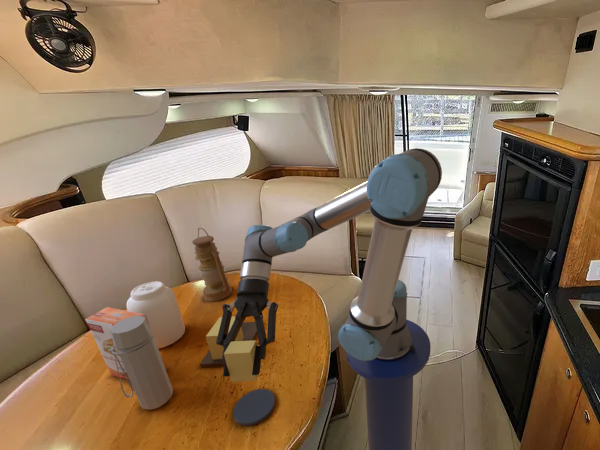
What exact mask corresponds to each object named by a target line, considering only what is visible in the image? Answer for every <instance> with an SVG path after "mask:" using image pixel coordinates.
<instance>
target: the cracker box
mask: <svg viewBox="0 0 600 450" xmlns="http://www.w3.org/2000/svg"><path fill="white" fill-rule="evenodd" d="M133 316H143V317H144V318H145V320H146V322H147V324H148V325H149V322H148V320H147V317H146V315H145V314H140V313H135V312H130V311H128V310H125V309H121V308H120V309H119V308H114V307H110V306H106V307H104V308H102V309H100V310H99V311H98V312H96V313H93V314H92V315H90V316H88V317H87V318H85V322H86V324H87V326H88V328H89V331H90V333H91V335H92V337H93V339H94V342H95V343H96V345H97V347H98V350H99V352H100V354H101V356H102V358H103V360H104V362H105V365H106V367H107V369H108V371H109V373H110V375H111V376H112V377H117V378H119V374H120V378H121V379H124V380H127V379H126V377H125V375H124V373H123V371H122V369H121V367H120V365H119V363H118V360H119V362H120V364H121V366H122V368H123V370H124V372H125V374H126V376H127V378H128V380H129V381H130V379H129V377H128V375H127V372H126V370H125V368H124V365H123V363H122V361H121V358H120V356H119V354H117V355H116V356H117V358H118V360H117V358H116V361H117V365H118V370H119V374H118V370H117V365H116V361H115V357H116V356H114V355H113V353H112V352H111V351H110V348H112V347H113V346H114V343H113V340H112V336H111V332H110V329H111V328H112V326H113V325H114V324H116V323H117V322H119V321H121V320H123V319H126V318H128V317H133ZM149 327H150V325H149ZM150 329H151V328H150ZM154 339H155V338H154ZM155 342H156V341H155ZM114 349H115V351H116V353H118V351H117V349H116V347H114ZM158 350H159V353H160V354H161V352H160V348H159V349H158ZM161 358H162V356H161ZM162 361H163V364H164V366H165V363H164V360H163V358H162ZM165 369H166V370H167V368H166V366H165Z"/></svg>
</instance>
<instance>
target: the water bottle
mask: <svg viewBox="0 0 600 450" xmlns="http://www.w3.org/2000/svg"><path fill="white" fill-rule="evenodd" d="M110 332H111V336H112V340H113V343H114V346H113V347H112V348H110V351H111V352H112V353H113V355H114V356H116V355H117V354H119V356H120V358H121V361H122V363H123V365H124V368H125V370H126V372H127V375H128V377H129V379H130V380H128V378H127V376H126V374H125V372H124V370H123V368H122V366H121V364H120V362H119V360H118V358H117V356H116V357H115V361H116V358H117V360H118V363H119V365H120V367H121V369H122V371H123V373H124V375H125V377H126V379H125V380H126V382H127V384H128V386H129V388H130V390H131V393H129V394H128V393H127V392H126V391H125V390H124V387H123V383H122V378H120V374H119V370H118V365H117V361H116V365H117V370H118V374H119V377H118V379H119V383H120V387H121V392H122V393H123V395H124V397H126V398H127V399H128V398H131V397H133V394H135V396H136V398H137V400H138V403H139V405H140V407H141V408H142V409H143V410H151V411H152V410H155V409H158V408H161V407H162V406H163V405H166V403H168V402H169V400H170V399H171V398H172V396H173V393H174V388H173V386H172V384H171V379H170V378H169V375H168V373H167V368H166V366H164V365H165V363H164V360H163V358H161V357H162V355H161V352H160V349H159V350H158V347H157V344H156V342H155V339H154V336H153V333H152V330H151V329H150V327H149V325H148V324H147V322H146V320H145V318H144V317H143V316H133V317H128V318H126V319H123V320H121V321H119V322H117V323H116V324H114V325H113V326H112V328H111V329H110ZM114 347H116V349H117V351H118V353H116V351H115V349H114ZM159 352H160V353H159ZM162 360H163V361H162ZM163 363H164V364H163ZM165 368H166V369H165Z"/></svg>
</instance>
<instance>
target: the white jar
mask: <svg viewBox="0 0 600 450" xmlns="http://www.w3.org/2000/svg"><path fill="white" fill-rule="evenodd" d="M177 300H178V299H177V297H176V294H175V291H173V289H172V288H171V287H169V286H166V285H165V284H164V283H163V282H162V281H157V280H156V281H148V282H145V283H141V284H140V285H137V286H135V287H134V288H133V289H131V291H130V297H129V298H128V299H127V301H126V311H130V312H135V313H140V314H145V315H146V317H147V320H148V322H149V325H150V328H151V330H152V333H153V336H154V338H155V341H156V344H157V347H158V349H159V350H160V349H162V348H166V347H168V346H170V345H172V344H175V342H177V341H178V340H179V339H181V338H182V337H183V335H184V334H185V333H186V326H185V323H184V320H183V316H182V313H181V309H180V306H179V304H178V301H177Z"/></svg>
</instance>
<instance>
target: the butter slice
mask: <svg viewBox="0 0 600 450" xmlns="http://www.w3.org/2000/svg"><path fill="white" fill-rule="evenodd" d="M256 346H258V343H257V340H255V339H254V340H253V341H232V342H231V343H230V344H229V346H228V348H227V349H226V351H225V353H224V357H225V360H226V364H227V367H228V371H229V375H230V376H229V378H230V381H231V383H238V382H239V383H240V382H257V381H258V378H259V376H260V373H261V372H262V369H263V366H262V364H261V365H260V373H259V375H252V371H253V364H254V356H255V348H256Z"/></svg>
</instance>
